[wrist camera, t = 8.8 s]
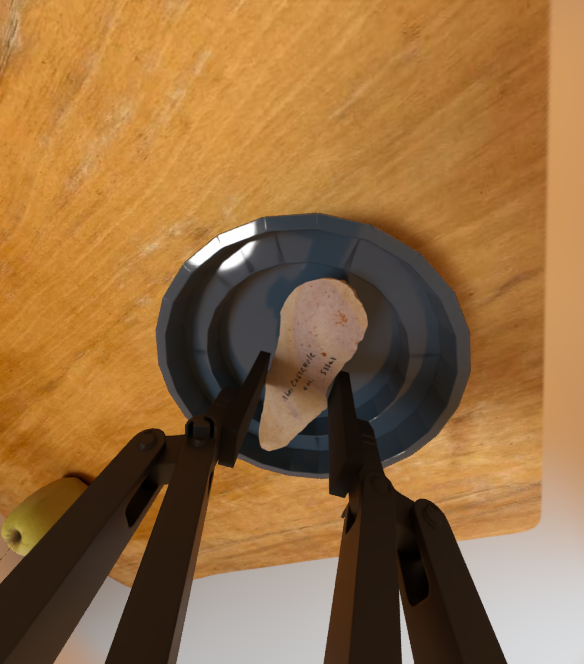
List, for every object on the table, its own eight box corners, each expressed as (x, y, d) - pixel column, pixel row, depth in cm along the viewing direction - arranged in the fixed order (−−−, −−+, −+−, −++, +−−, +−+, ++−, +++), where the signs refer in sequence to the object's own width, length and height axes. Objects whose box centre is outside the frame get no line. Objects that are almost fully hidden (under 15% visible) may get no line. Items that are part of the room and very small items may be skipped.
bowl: (195, 188, 15) (140, 172, 11) (490, 255, 15) (563, 268, 10) (194, 403, 24) (164, 443, 20) (375, 450, 24) (387, 502, 19)
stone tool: (300, 454, 19) (387, 294, 12) (293, 470, 18) (387, 300, 11) (250, 423, 20) (303, 260, 13) (240, 436, 19) (294, 262, 12)
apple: (103, 513, 37) (15, 590, 28) (74, 482, 39) (-18, 546, 30) (102, 489, 34) (1, 569, 25) (70, 457, 35) (-35, 521, 27)
